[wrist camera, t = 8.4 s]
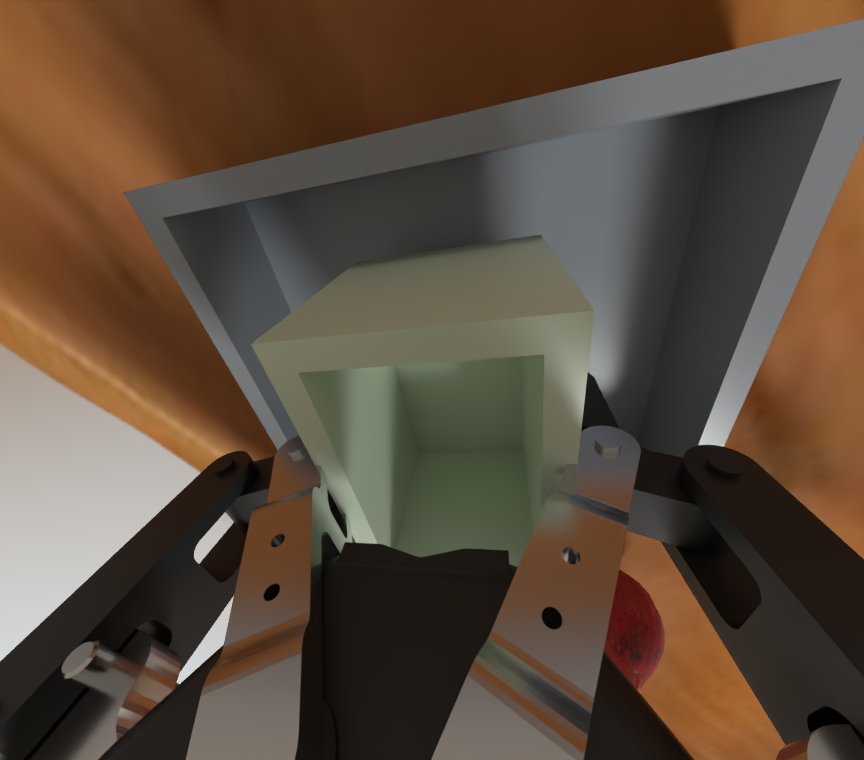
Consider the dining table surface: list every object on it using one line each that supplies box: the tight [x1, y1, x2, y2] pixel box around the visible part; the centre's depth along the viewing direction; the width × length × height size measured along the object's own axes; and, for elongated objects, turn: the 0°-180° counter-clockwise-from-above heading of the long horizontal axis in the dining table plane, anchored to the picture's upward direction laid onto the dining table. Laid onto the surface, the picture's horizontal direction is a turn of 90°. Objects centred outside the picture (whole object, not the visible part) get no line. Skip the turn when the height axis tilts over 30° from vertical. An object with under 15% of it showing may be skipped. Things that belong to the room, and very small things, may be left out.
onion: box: [604, 570, 664, 694], centre depth 22 cm, size 6×6×8 cm
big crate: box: [124, 19, 864, 457], centre depth 14 cm, size 18×15×5 cm
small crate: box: [251, 235, 595, 567], centre depth 10 cm, size 6×9×6 cm, turn 10°
